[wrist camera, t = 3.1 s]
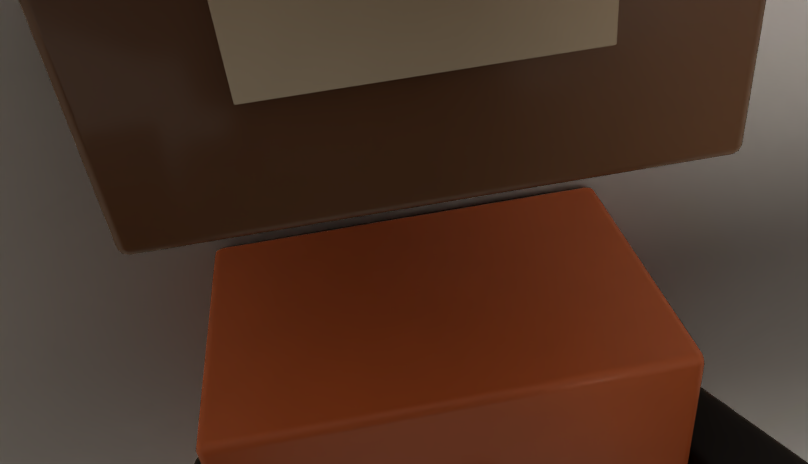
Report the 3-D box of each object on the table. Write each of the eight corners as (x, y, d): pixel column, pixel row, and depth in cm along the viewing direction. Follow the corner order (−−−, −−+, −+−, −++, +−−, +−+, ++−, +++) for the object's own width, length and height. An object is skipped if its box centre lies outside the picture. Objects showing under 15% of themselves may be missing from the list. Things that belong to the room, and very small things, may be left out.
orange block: (581, 434, 12) (667, 635, 9) (287, 489, 11) (292, 711, 9) (592, 183, 9) (716, 364, 7) (213, 246, 9) (191, 461, 6)
